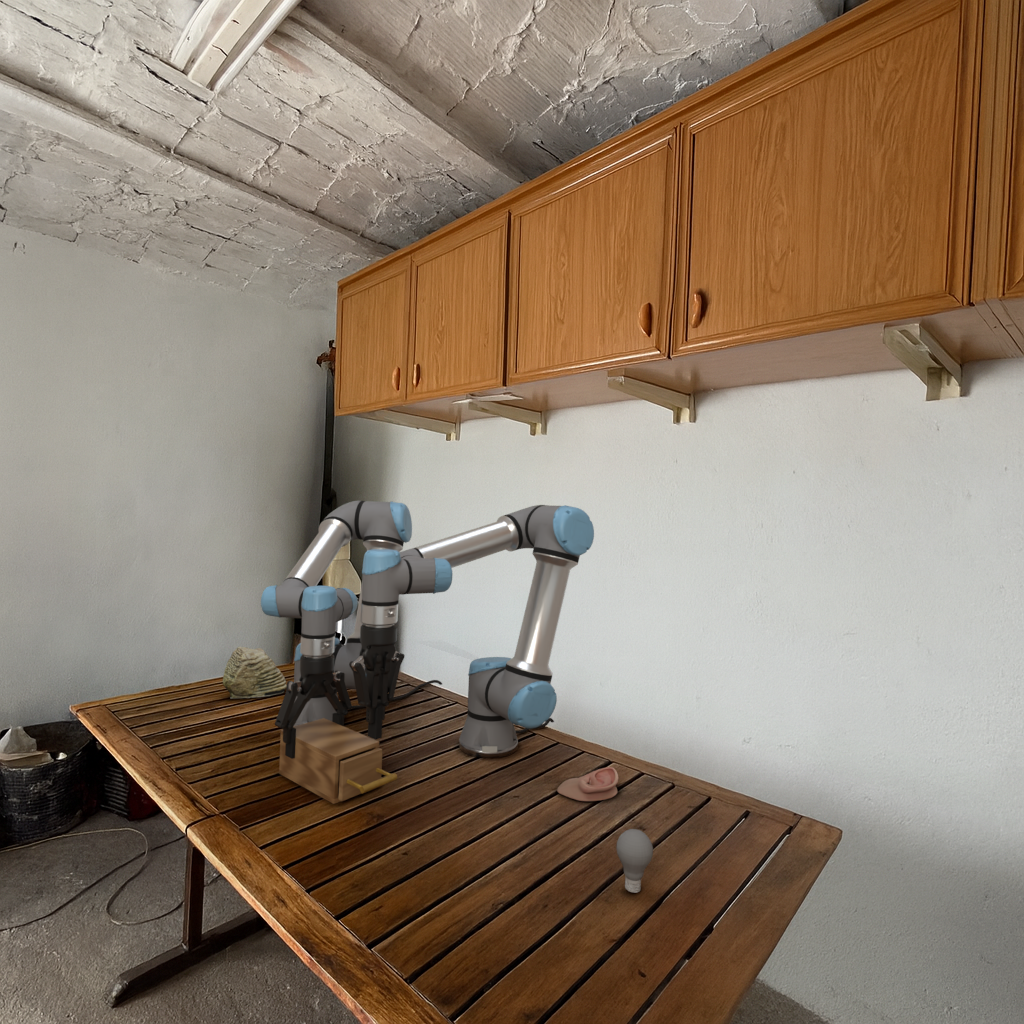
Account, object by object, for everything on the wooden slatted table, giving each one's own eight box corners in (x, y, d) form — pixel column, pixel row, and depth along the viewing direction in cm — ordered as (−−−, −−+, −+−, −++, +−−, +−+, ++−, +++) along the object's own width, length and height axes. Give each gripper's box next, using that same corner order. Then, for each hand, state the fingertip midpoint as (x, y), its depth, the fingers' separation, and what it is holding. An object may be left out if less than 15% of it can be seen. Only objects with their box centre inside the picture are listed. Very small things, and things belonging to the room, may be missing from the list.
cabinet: (377, 786, 140) (379, 741, 140) (333, 804, 131) (335, 756, 131) (322, 758, 153) (323, 717, 153) (278, 773, 144) (280, 730, 144)
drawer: (399, 794, 134) (401, 757, 134) (360, 811, 126) (361, 772, 126) (328, 759, 150) (329, 726, 150) (289, 772, 142) (290, 737, 142)
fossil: (218, 695, 195) (220, 647, 195) (278, 685, 208) (279, 640, 207) (228, 703, 189) (230, 653, 188) (289, 692, 201) (290, 645, 201)
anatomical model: (555, 779, 137) (562, 758, 149) (554, 797, 138) (561, 775, 149) (617, 787, 135) (619, 766, 146) (616, 806, 135) (618, 783, 146)
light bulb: (610, 879, 108) (613, 822, 108) (644, 879, 109) (647, 822, 109) (619, 902, 102) (622, 840, 102) (655, 901, 103) (658, 840, 103)
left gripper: (279, 666, 133) (275, 769, 134) (369, 649, 152) (366, 739, 152) (260, 660, 138) (256, 759, 138) (350, 643, 156) (346, 731, 157)
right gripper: (365, 631, 124) (360, 750, 124) (414, 623, 134) (410, 733, 135) (341, 625, 129) (337, 740, 129) (391, 617, 139) (387, 724, 139)
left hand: (313, 748), depth 145 cm, fingers closed on cabinet, 11 cm apart
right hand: (374, 736), depth 132 cm, fingers closed
